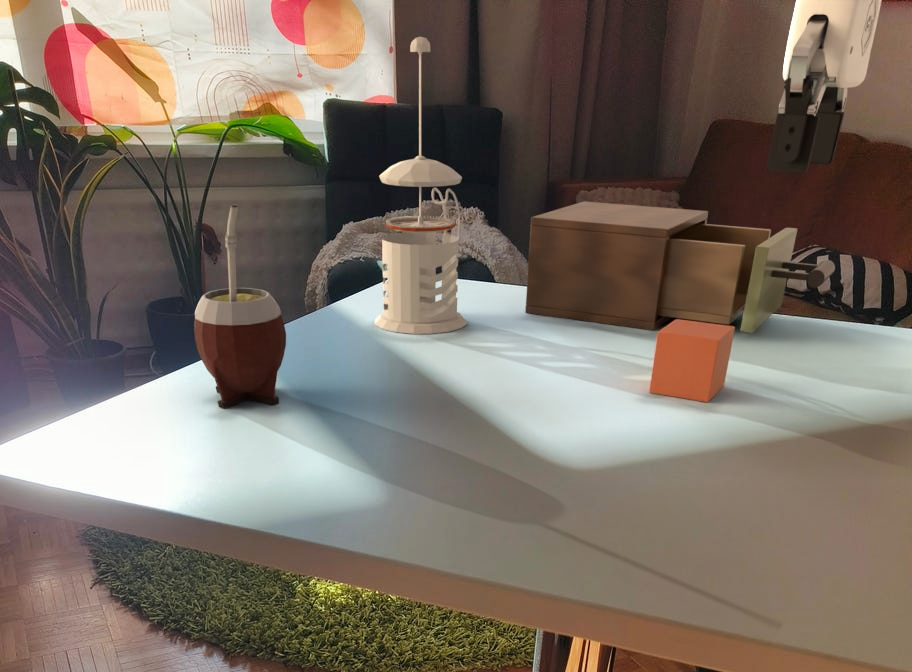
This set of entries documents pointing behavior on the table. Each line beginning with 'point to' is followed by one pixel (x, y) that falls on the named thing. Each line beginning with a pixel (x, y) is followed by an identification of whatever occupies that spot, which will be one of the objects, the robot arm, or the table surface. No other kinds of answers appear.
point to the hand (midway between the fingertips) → (800, 167)
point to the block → (691, 359)
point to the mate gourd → (240, 336)
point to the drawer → (731, 274)
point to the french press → (420, 249)
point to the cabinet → (602, 262)
